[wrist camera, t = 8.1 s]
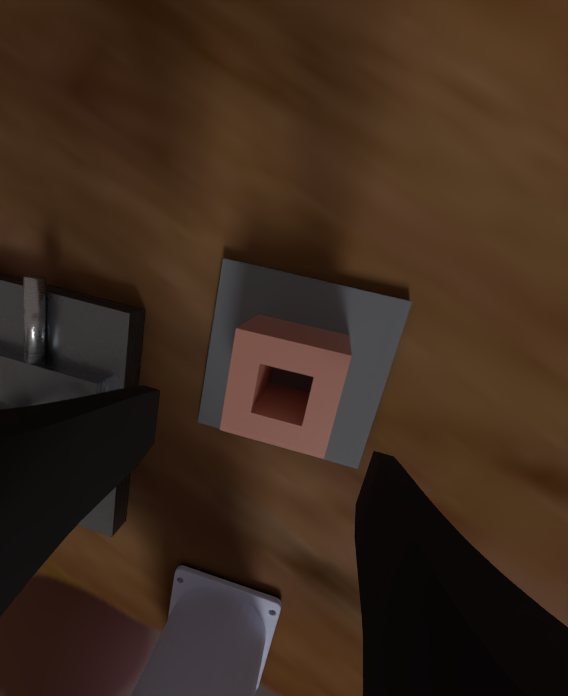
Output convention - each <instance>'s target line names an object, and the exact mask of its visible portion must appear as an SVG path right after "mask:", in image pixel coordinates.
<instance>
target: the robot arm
mask: <svg viewBox="0 0 568 696" xmlns="http://www.w3.org/2000/svg"><path fill="white" fill-rule="evenodd" d="M159 396H160V390H157V389H154V388H150V387H147V386H134V387H128V388H122V389H117V390H112V391H107V392H103V393H98V394H93V395H88V396H83V397H78V398H73V399H67V400H62V401H56V402H50V403H45V404H39V405H32V406H25V407H17V408H8V409H0V617H1V616H2V614H3V613H4V612H5V610H6V609H7V608H8V606H9V605H10V604H11V603H12V601H13V600H14V599H15V598H16V597H17V595H18V594H19V593H20V592H21V590H22V589H23V588H24V587H25V585H26V584H27V583H28V581H29V580H30V579H31V578H32V577H33V576H34V574H35V573H36V572H37V571H38V569H39V568H40V567H41V566H42V565H43V563H44V562H45V561H46V560H47V559H48V558H49V556H50V555H51V554H52V553H53V552H54V550H55V549H56V548H57V547H58V546H59V545H60V543H61V542H62V541H63V540H64V539H65V537H66V536H67V535H68V534H69V533H70V532H71V531H72V530H73V529H74V528H75V527H76V526H77V525H78V524H79V522H80V521H81V520H82V519H84V518H85V517H86V516H87V515H88V514H89V513H90V512H91V511H92V510H93V509H94V508H95V507H96V506H97V505H98V504H99V503H100V502H101V501H102V500H103V499H104V498H105V497H106V496H107V495H108V494H109V493H110V492H111V491H112V490H113V489H114V488H115V487H116V486H117V485H118V484H119V483H120V482H121V481H122V480H123V479H124V478H125V477H126V476H127V475H128V474H129V473H130V472H131V471H132V470H133V469H134V468H135V467H136V466H137V465H138V463H139V462H140V461H141V460H142V458H143V457H144V456H145V454H146V453H147V452H148V450H149V449H150V448H151V446H152V445H153V444H154V439H155V430H156V421H157V413H158V404H159ZM355 546H356V558H357V569H358V580H359V591H360V602H361V613H362V628H363V696H568V627H567V626H565V625H564V624H563V623H561V622H560V621H559V620H558V619H556V618H555V617H554V616H553V615H551V614H550V613H549V612H547V611H546V610H545V609H544V608H542V607H541V606H540V605H539V604H538V603H536V602H535V601H534V600H533V599H532V598H530V597H529V596H528V595H527V594H526V593H524V592H523V591H522V590H521V589H520V588H518V587H517V586H516V585H515V584H514V583H512V582H511V581H510V580H509V579H508V578H507V577H506V576H504V575H503V574H502V573H501V572H500V571H499V570H498V569H497V568H495V567H494V566H493V565H492V564H491V563H490V562H489V561H488V560H487V559H486V558H485V557H484V556H483V555H482V554H481V553H480V552H478V551H477V550H476V549H475V548H474V547H473V546H472V545H471V544H470V543H469V542H468V541H467V540H466V539H465V538H464V537H463V536H462V535H461V534H460V533H459V532H458V531H457V530H456V528H455V527H454V526H453V525H452V524H451V523H450V522H449V521H448V520H447V519H446V518H445V517H444V516H443V514H442V513H441V512H440V511H439V510H438V509H437V508H436V507H435V505H434V504H433V503H432V502H431V501H430V500H429V498H428V497H427V496H426V495H425V494H424V492H423V491H422V490H421V489H420V488H419V486H418V485H417V484H416V483H415V481H414V480H413V479H412V478H411V477H410V475H409V474H408V473H407V472H406V470H405V469H404V468H403V467H402V465H401V464H400V463H399V462H398V461H397V460H396V459H395V458H394V457H393V456H390V455H386V454H383V453H379V452H376V451H374V452H373V455H372V458H371V461H370V464H369V467H368V470H367V473H366V476H365V479H364V481H363V484H362V487H361V490H360V493H359V496H358V499H357V502H356V512H355ZM280 610H281V601H280V600H279V599H278V598H276V597H273V596H271V595H268V594H265V593H262V592H259V591H256V590H253V589H250V588H247V587H244V586H242V585H239V584H236V583H233V582H230V581H227V580H224V579H221V578H218V577H216V576H213V575H210V574H207V573H204V572H201V571H198V570H195V569H192V568H189V567H187V566H183V565H181V566H178V567H177V569H176V571H175V575H174V581H173V588H172V594H171V600H170V607H169V613H168V620H167V622H166V624H165V626H164V628H163V630H162V632H161V634H160V636H159V639H158V640H157V643H156V645H155V647H154V649H153V651H152V653H151V655H150V657H149V659H148V661H147V663H146V665H145V667H144V669H143V671H142V673H141V675H140V677H139V679H138V681H137V683H136V685H135V687H134V689H133V691H132V693H131V695H130V696H255V691H256V689H257V688H258V686H259V683H260V679H261V676H262V672H263V669H264V665H265V662H266V658H267V655H268V652H269V648H270V645H271V641H272V638H273V634H274V631H275V627H276V624H277V620H278V617H279V613H280Z"/></svg>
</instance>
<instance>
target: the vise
mask: <svg viewBox="0 0 568 696" xmlns="http://www.w3.org/2000/svg"><path fill="white" fill-rule="evenodd" d="M144 319H145V310H144V309H140V308H136V307H132V306H128V305H124V304H120V303H116V302H112V301H109V300H105V299H101V298H97V297H93V296H89V295H85V294H81V293H77V292H73V291H69V290H66V289H62V288H58V287H54V286H50V285H46V278H44V277H40V276H32V275H25V276H23V278H19V277H15V276H11V275H7V274H3V273H0V409H8V408H17V407H25V406H32V405H39V404H45V403H50V402H56V401H62V400H67V399H73V398H78V397H83V396H88V395H93V394H98V393H103V392H107V391H112V390H117V389H122V388H128V387H134V386H138V384H139V373H140V363H141V352H142V341H143V330H144ZM129 481H130V473H129V474H128V475H127V476H126V477H125V478H124V479H123V480H122V481H121V482H120V483H119V484H118V485H117V486H116V487H115V488H114V489H113V490H112V491H111V492H110V493H109V494H108V495H107V496H106V497H105V498H104V499H103V500H102V501H101V502H100V503H99V504H98V505H97V506H96V507H95V508H94V509H93V510H92V511H91V512H90V513H89V514H88V515H87V516H86V517H85V518H84V519H82V520H81V521H80V522H79V524H78V525H79V526H82V527H85V528H88V529H91V530H93V531H96V532H99V533H102V534H105V535H108V536H111V537H112V536H113V535H114V534H115V533H116V532H117V531H118V529H119V528H120V527H121V526H122V525H123V523H124V522H125V521H126V514H127V503H128V492H129Z"/></svg>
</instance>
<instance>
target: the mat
mask: <svg viewBox="0 0 568 696" xmlns="http://www.w3.org/2000/svg"><path fill="white" fill-rule="evenodd" d="M411 304H412V302H411V301H409V300H405V299H401V298H396V297H392V296H388V295H383V294H379V293H375V292H370V291H366V290H362V289H357V288H353V287H349V286H344V285H340V284H335V283H331V282H327V281H322V280H318V279H314V278H309V277H305V276H301V275H296V274H292V273H288V272H283V271H279V270H275V269H270V268H266V267H262V266H257V265H253V264H249V263H244V262H240V261H235V260H231V259H226V258H223V262H222V268H221V275H220V281H219V288H218V294H217V301H216V307H215V314H214V320H213V327H212V333H211V340H210V346H209V353H208V359H207V366H206V372H205V379H204V385H203V392H202V398H201V405H200V411H199V417H198V423H201V424H205V425H208V426H211V427H215V428H218V429H220V425H221V419H222V412H223V406H224V400H225V394H226V387H227V381H228V375H229V369H230V362H231V356H232V350H233V343H234V337H235V331H236V328H237V327H239V326H240V325H242V324H244V323H245V322H247V321H249V320H250V319H252V318H254V317H256V316H257V315H263V316H268V317H272V318H276V319H281V320H285V321H289V322H294V323H298V324H302V325H307V326H311V327H316V328H320V329H324V330H329V331H333V332H337V333H342V334H346V335H350V344H351V354H352V357H351V360H350V364H349V368H348V371H347V375H346V379H345V383H344V386H343V390H342V394H341V397H340V401H339V405H338V409H337V412H336V416H335V420H334V423H333V427H332V431H331V435H330V438H329V442H328V446H327V449H326V453H325V457H324V459H325V460H328V461H331V462H335V463H338V464H342V465H345V466H349V467H352V468H355V469H358V466H359V463H360V460H361V457H362V454H363V451H364V448H365V445H366V442H367V439H368V436H369V433H370V429H371V426H372V423H373V420H374V417H375V414H376V411H377V408H378V405H379V402H380V399H381V396H382V393H383V390H384V387H385V384H386V380H387V377H388V374H389V371H390V368H391V365H392V362H393V359H394V356H395V353H396V350H397V347H398V344H399V341H400V338H401V335H402V331H403V328H404V325H405V322H406V319H407V316H408V313H409V310H410V307H411ZM313 378H314V377H311V376H307V375H303V374H299V373H295V372H291V371H287V370H283V369H279V368H275V367H272V372H271V377H270V382H271V383H275V384H279V385H282V386H286V387H290V388H294V389H298V390H302V391H306V392H310V391H311V387H312V382H313ZM307 455H308V454H307ZM314 457H315V456H314ZM318 458H319V457H318ZM321 459H322V458H321Z"/></svg>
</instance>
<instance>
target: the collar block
mask: <svg viewBox="0 0 568 696" xmlns="http://www.w3.org/2000/svg"><path fill="white" fill-rule="evenodd" d="M351 357H352V354H351V344H350V335H346V334H342V333H337V332H333V331H329V330H324V329H320V328H316V327H311V326H307V325H302V324H298V323H294V322H289V321H285V320H281V319H276V318H272V317H268V316H263V315H257V316H256V317H254V318H252V319H250V320H249V321H247V322H245V323H244V324H242V325H240V326H239V327H237V328H236V331H235V337H234V343H233V350H232V356H231V362H230V369H229V375H228V381H227V387H226V394H225V400H224V406H223V412H222V419H221V425H220V430H221V431H225V432H228V433H232V434H236V435H239V436H243V437H246V438H250V439H254V440H257V441H261V442H264V443H268V444H272V445H275V446H279V447H282V448H286V449H290V450H293V451H297V452H300V453H304V454H308V455H311V456H315V457H319V458H322V459H324V457H325V453H326V449H327V446H328V442H329V438H330V435H331V431H332V427H333V423H334V420H335V416H336V412H337V409H338V405H339V401H340V397H341V394H342V390H343V386H344V383H345V379H346V375H347V371H348V368H349V364H350V360H351ZM272 367H275V368H279V369H283V370H287V371H291V372H295V373H299V374H303V375H307V376H311V377H314V378H313V382H312V387H311V391H310V392H306V391H302V390H298V389H294V388H290V387H286V386H282V385H279V384H275V383H271V382H270V377H271V372H272Z"/></svg>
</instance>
